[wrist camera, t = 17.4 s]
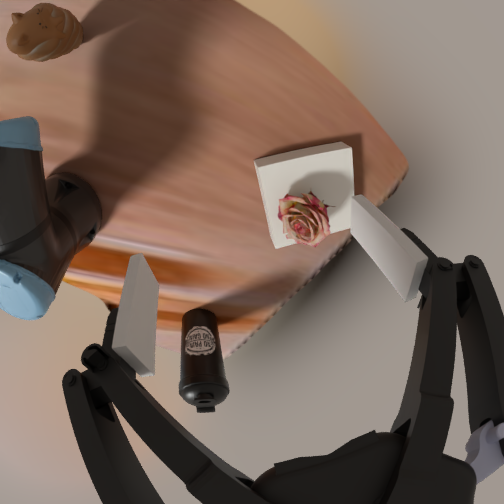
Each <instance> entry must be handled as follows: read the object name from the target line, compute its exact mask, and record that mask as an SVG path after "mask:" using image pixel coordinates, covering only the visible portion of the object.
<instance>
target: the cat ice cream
mask: <svg viewBox="0 0 504 504" xmlns="http://www.w3.org/2000/svg"><path fill="white" fill-rule="evenodd" d="M12 21H13V25H12V26H11V28H10V29H9V32H8V34H7V39H6V42H7V46H8V48H9V50H10V51H11V52H13V53H15V54H17V55H18V56H19V57H20V58H22V59H25V60H34V61H38V62H43V61H47V60H49V59H55V58H58V57H60V56H62V55H65V54H68V53H70V52H71V51H72V50H73V49H76V48H78V47H79V46H80V45H81V43H82V40H83V28H82V26H81V24H80V22H79V21H78V20H77V19H76V17H75V16H74V15H73V14H72V13H71V12H70V11H68V10H66V9H63V8H60V7H57V6H55V5H53V4H50V3H39V4H37V5H35V6H34V7H33V8H32V9H31V10H29V11H28V12H26V13H24V14H22V13H12Z"/></svg>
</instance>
